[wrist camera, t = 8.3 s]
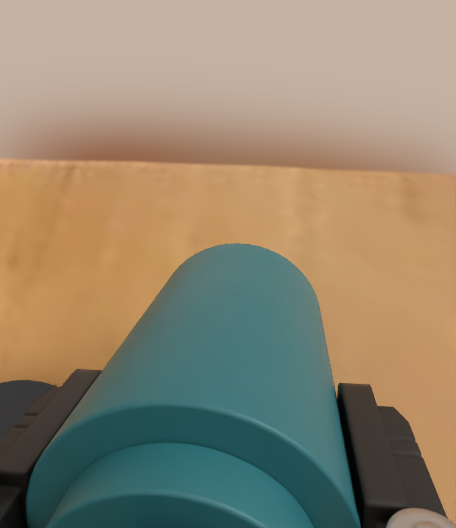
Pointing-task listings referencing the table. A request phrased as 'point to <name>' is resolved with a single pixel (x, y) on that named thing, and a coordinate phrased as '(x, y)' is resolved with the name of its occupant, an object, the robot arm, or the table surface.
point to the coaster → (18, 400)
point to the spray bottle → (207, 412)
